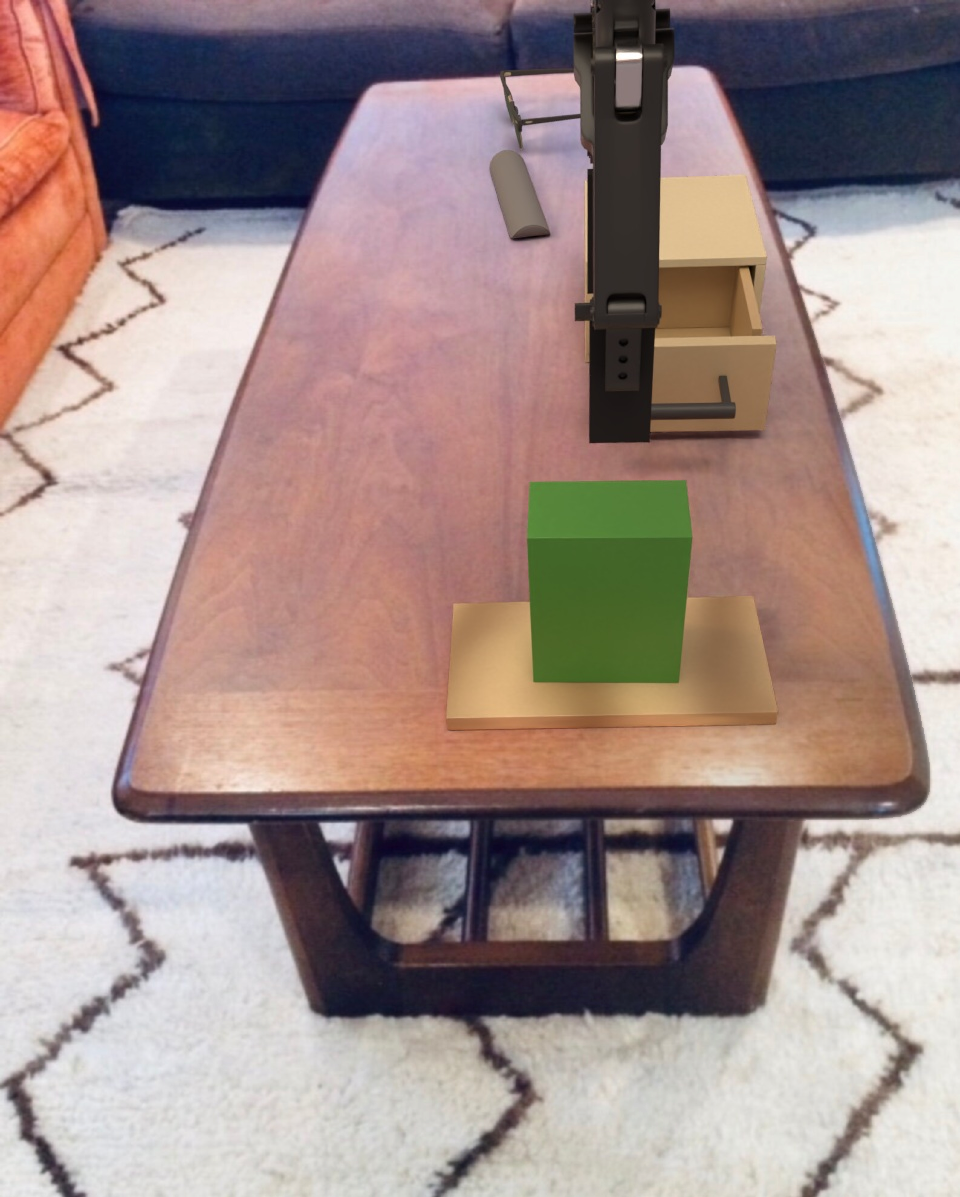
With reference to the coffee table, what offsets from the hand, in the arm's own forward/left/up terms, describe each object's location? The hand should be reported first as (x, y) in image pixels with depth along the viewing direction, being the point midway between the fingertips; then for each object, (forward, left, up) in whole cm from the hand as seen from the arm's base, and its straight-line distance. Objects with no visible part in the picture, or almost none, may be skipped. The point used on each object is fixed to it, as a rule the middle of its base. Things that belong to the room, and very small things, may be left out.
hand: (615, 358), depth 54 cm
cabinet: (+27, -35, -23) cm, 50 cm away
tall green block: (0, 0, -22) cm, 22 cm away
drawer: (+17, -25, -22) cm, 37 cm away
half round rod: (+55, -42, -23) cm, 73 cm away
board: (0, 0, -23) cm, 23 cm away
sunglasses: (+65, -60, -23) cm, 92 cm away
